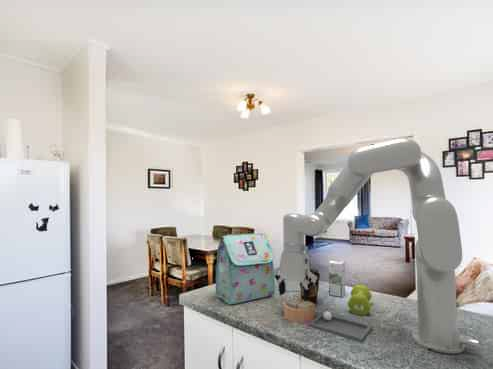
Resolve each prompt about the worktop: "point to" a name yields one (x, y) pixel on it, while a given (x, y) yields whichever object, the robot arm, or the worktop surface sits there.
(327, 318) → the pebble
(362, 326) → the tray
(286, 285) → the medicine bottle
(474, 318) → the worktop surface
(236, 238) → the lunch bag
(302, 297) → the coffee cup
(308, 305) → the cream cube
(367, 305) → the dumbbell
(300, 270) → the robot arm
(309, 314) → the bowl
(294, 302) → the grey sharp-edged block
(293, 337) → the worktop surface
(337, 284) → the clear bottle
